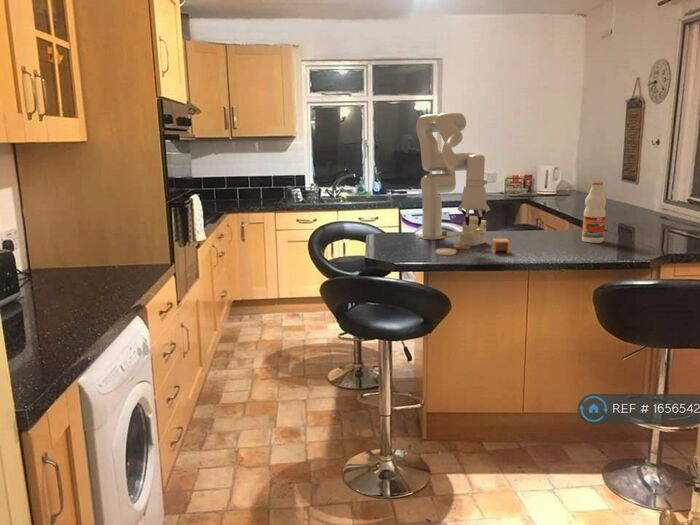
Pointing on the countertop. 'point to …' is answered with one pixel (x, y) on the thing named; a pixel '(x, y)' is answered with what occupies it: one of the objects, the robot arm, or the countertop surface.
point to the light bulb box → (474, 234)
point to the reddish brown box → (500, 245)
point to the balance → (461, 246)
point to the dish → (445, 251)
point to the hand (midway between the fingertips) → (473, 224)
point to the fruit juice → (594, 214)
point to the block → (473, 222)
